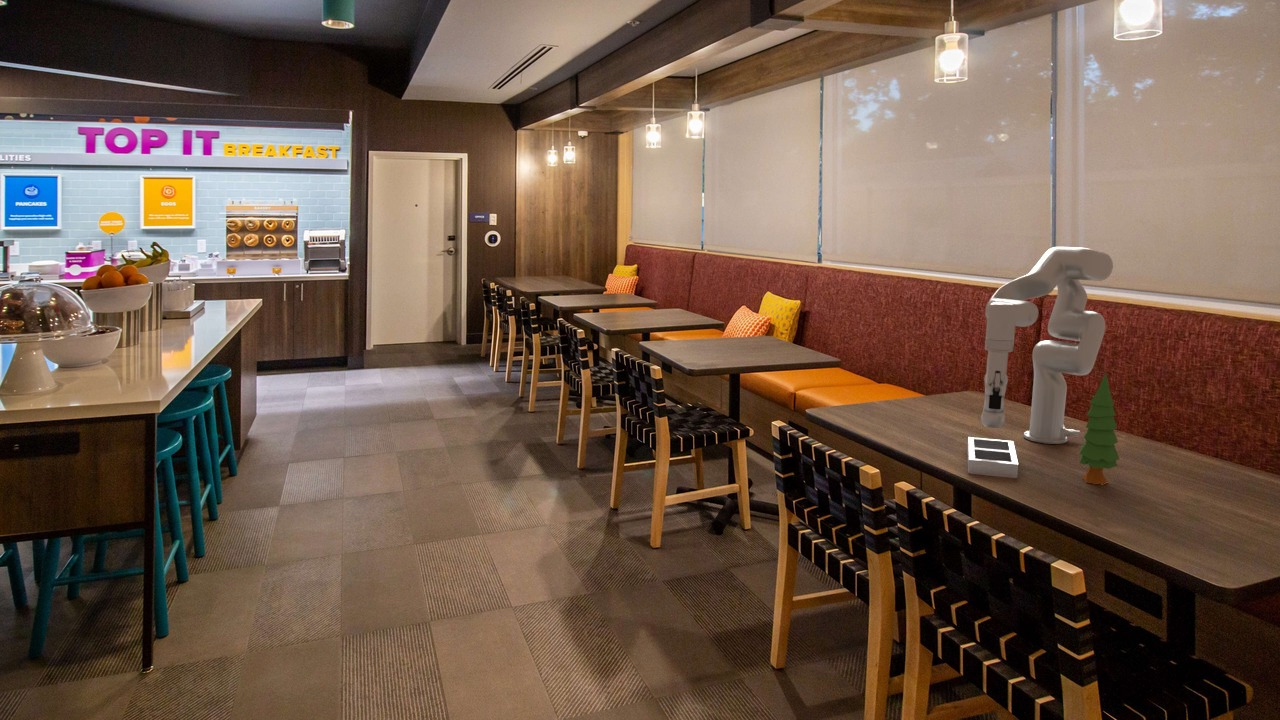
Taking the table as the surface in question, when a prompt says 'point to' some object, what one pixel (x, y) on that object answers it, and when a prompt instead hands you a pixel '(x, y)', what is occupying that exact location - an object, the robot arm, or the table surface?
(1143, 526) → the table surface
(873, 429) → the table surface
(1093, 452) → the decorative tree
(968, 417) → the table surface
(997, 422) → the plastic bottle
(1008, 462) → the white flat box
